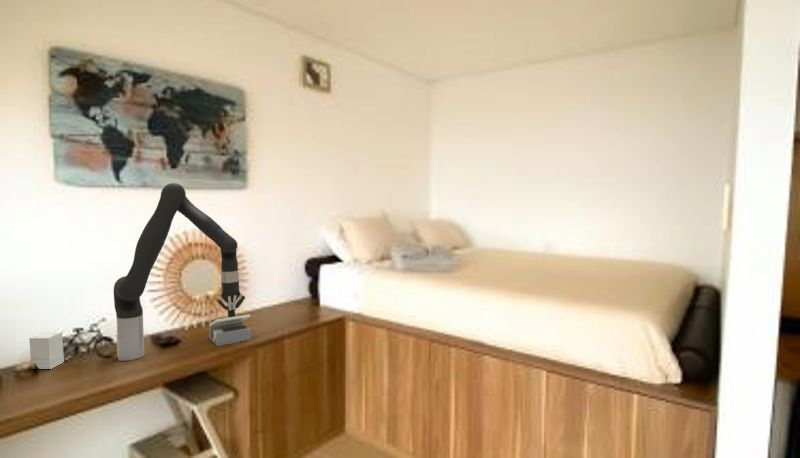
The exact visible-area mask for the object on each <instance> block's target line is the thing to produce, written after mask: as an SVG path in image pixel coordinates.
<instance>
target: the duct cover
mask: <svg viewBox="0 0 800 458" xmlns="http://www.w3.org/2000/svg"><path fill="white" fill-rule="evenodd" d="M250 317H251V314H250V313H249V314H244V315H237V316H236V315H235V316H234V317H224V318H218V319H217V318H216V319H215V320H213V321H211V323H209V324H208V325H209V326H208V327H212V326H218V325H224V324H230V323H236V322H243V321H245V320H247V319H249V318H250Z"/></svg>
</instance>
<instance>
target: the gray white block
mask: <svg viewBox="0 0 800 458" xmlns="http://www.w3.org/2000/svg"><path fill="white" fill-rule="evenodd" d="M245 328H248V327H247V326H246V325H243V326H237V327H231V328H226V329H218V330H213V333H214V340H215V341H217V333H222V332H228V331H234V330H239V329H245Z"/></svg>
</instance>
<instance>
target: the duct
mask: <svg viewBox="0 0 800 458" xmlns="http://www.w3.org/2000/svg"><path fill="white" fill-rule="evenodd" d="M243 324H244V323H243V321H240V322H234V323H228V324H222V325H216V326H210V327H209V326H208V327H209V339H210V340H211V342H213V343H214V344H215V345H216V346H217V347H220V346H225V345H229V344H236V343H240V341H242V342H246V341H245V340H247V341H252V340H251V339H252V338H253V337H252V327H247V328H245V329H239V330H234V331H228V332H222V333H217V341H215V340H214V333H213V330H218V329H226V328H231V327H237V326H243Z"/></svg>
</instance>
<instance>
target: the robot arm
mask: <svg viewBox="0 0 800 458" xmlns="http://www.w3.org/2000/svg"><path fill="white" fill-rule="evenodd" d="M177 212H178V213H179V214H182V215H183V216H184V217H185V218H186V219H187V220H189V221H190V222H191V223H192V224H193V225H194V226H195V227H196V228H197V229H198V230H199V231H200V232H201V233H203V234H204V235H205V236H206V237H207V238H208V239H210V240H211V241H212V242H213V243H215V244H216V246H218V247H219V248H220V256H221V265H220V266H221V274H220V275H221V276H220V278H221V279H220V282H221V294H220V297H219V298H217V299H216V300H215V301H216V302H217V304H219V306H220V307H222V308H223V309H224V310H226V311H227V318H229V317H236V309H238V308H240V306H241V305H242V303H243V302H244V301H245V299H246V296H245V295H243V294H241V291H240V277H239V276H240V275H239V263H238V259H237V249H238V242H237V240H236V239H235V238H234V237H233V236H232V235H230V234H229V233H228V232H227V231H225V230H224V229H223V227H222V226H220V224H218V223H217V222H216V221H215V220H214V219H213V218H211V216H209V215H208V214H207V213H205V212H204V211H202V210H201V209H199V208H198V207H196V206H195V205H194V203H192V202H191V201H190V199H189V198H188V197H187V196H186V191H185V188H184V187H183V186H182V185H181V184H179V183H176V182H171V183H168V184H166V185H165V186H164V187H162V190H161V191H160V198H159V201H158V203H157V206H156V209H154V212H153V214H152V215H151V217H150V218H149V220H148V221H147V223H146V225H145V226H144V228H143V230H142V232H141V234H140V235H139V238H138V240H137V243H136V245H135V249H134V256H133V261H132V264H131V266H130V269H129V271H128V273H127V274H126V275H124V276H121V277H119V278H118V279H117V280H116V281H115V282H114V285H113V302H114V310H115V317H116V349H117V351H116V353H117V358H118V361H119V362H123V361H126V362H127V361H134V360H137V359H141V358H143V357H144V356H145V335H144V332H145V331H144V311H143V309H144V308H143V306H142V303H141V296H142V295H143V294H144V292H145V289H146V287H147V284H148V279H149V276H150V274H151V271H152V269H153V268H154V265H155V264H156V261H157V259H158V257H159V255H160V253H161V251H162V250H163V246H164V245H165V243H166V240H167V238H168V235H169V232H170V230H171V226H172V223H173V220H174V218H175V215H177V214H176V213H177ZM224 302H225V303H226V305H225V304H224Z"/></svg>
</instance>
